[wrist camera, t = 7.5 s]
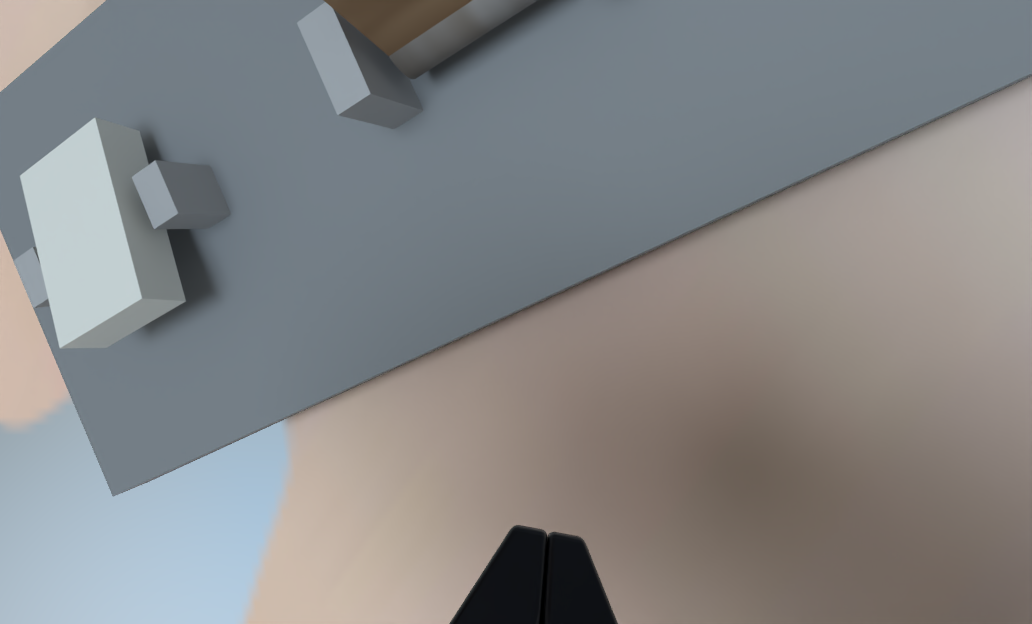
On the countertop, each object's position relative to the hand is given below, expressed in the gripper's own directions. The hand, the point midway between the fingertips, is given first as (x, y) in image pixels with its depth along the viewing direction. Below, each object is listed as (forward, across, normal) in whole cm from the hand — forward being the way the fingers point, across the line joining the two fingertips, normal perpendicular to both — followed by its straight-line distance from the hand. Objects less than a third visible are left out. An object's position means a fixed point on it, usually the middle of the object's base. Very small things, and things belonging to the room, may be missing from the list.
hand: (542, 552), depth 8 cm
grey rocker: (+12, +13, +4) cm, 18 cm away
